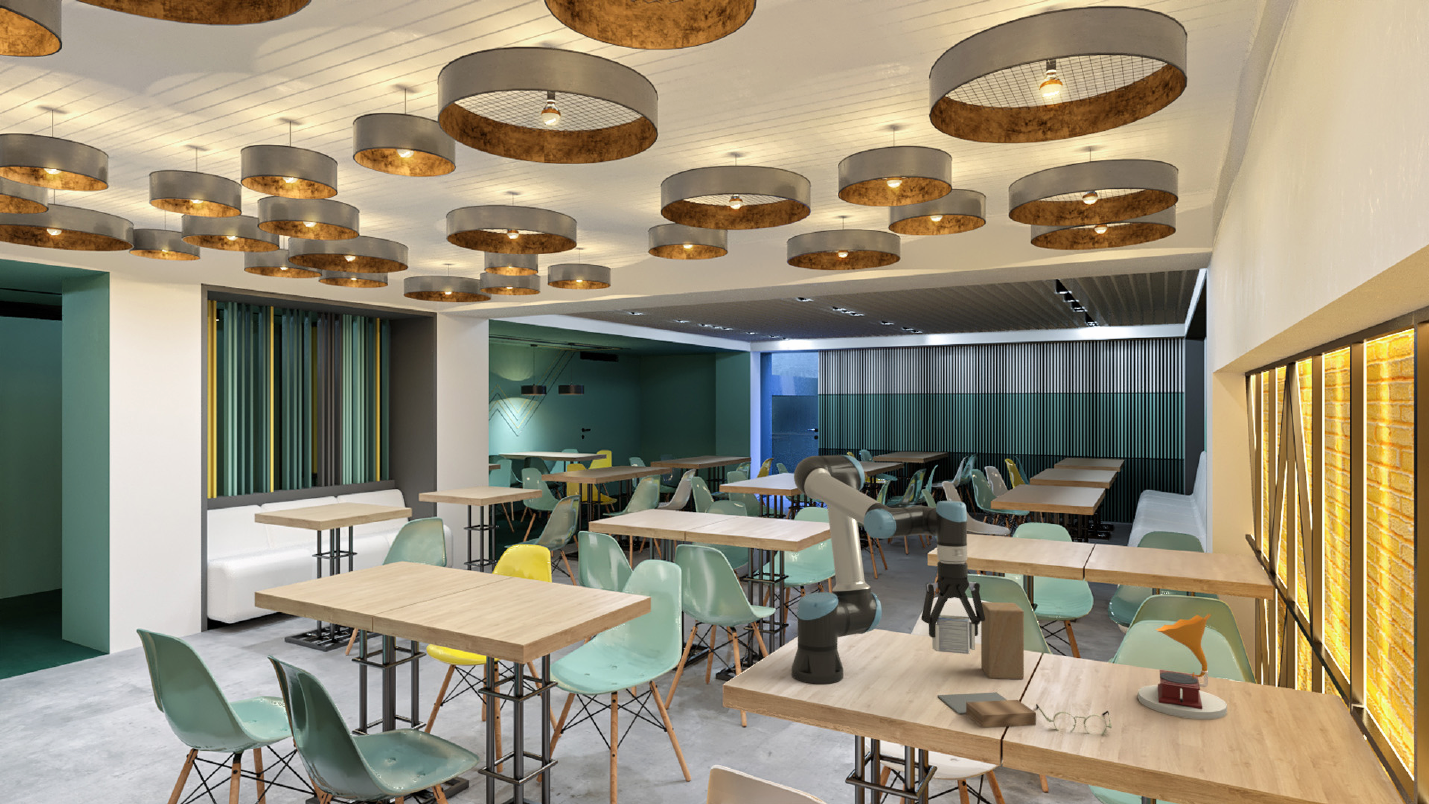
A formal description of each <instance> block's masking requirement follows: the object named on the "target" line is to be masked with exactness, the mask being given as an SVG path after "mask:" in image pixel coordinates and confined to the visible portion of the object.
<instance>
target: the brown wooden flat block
mask: <svg viewBox="0 0 1429 804" xmlns="http://www.w3.org/2000/svg"><path fill="white" fill-rule="evenodd" d="M965 715H967V716H968V717H969V718H970V719H972V720H973V721H974V722H975V723H976V724H977V725H979V726H980V727H981V728H1000V727H1003V728H1004V727H1020V726H1036V725H1037V712H1036V711H1034V710H1033V709H1031V708H1030V707H1028V706H1027V705H1025V703H1023V702H1022V701H1020V700H1019V699H1007V700H1003V701H982V702H966V714H965Z"/></svg>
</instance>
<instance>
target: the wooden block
mask: <svg viewBox="0 0 1429 804" xmlns="http://www.w3.org/2000/svg"><path fill="white" fill-rule="evenodd" d="M981 602H982V607H983V611H984V615H985V621H981V622H980V624H981V625H980V627H981V628H980V639H981V640H980V643H981V644H980V647H981V648H980V655H981V657H980V658H981V659H980V661H981V663H980V666H981V669H982V671H984V673H985V674H986V676H987V677H988V678H989V679H1000V680H1001V679H1002V680H1004V679H1005V680H1008V679H1009V680H1024V679H1025V678H1024V677H1025V676H1024V674H1025V673H1024V672H1025V671H1024V670H1025V668H1024V667H1025V663H1024V661H1025V657H1024V656H1025V653H1024V651H1025V643H1024V641H1025V640H1024V639H1025V634H1024V633H1025V632H1024V631H1025V630H1024V629H1025V624H1024V623H1025V622H1024V621H1025V619H1024V618H1025V617H1024V615H1025V614H1024V612H1025V611H1024V610H1023V609H1022V608H1021V607H1020V606H1018V605H1017V604H1016V603H1015V602H994V601H993V602H990V601H988V602H987V601H981Z"/></svg>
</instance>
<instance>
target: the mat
mask: <svg viewBox="0 0 1429 804" xmlns="http://www.w3.org/2000/svg"><path fill="white" fill-rule="evenodd" d="M937 697H938V698H939V699H940V700H941V699H942V700H941V701H942V702H943V703H944V704H946V705H947V706H948V707H949V708H950V709H952V710H953V711H954V712H955V713H956V714H957V715H967V714H966V702H982V701H1003V700H1008V699H1007V698H1005V697H1004V696H1002V695H1001V694H1000V693H998V692H997V691H996V692H993V691H992V692H977V693H976V692H974V693H972V692H971V693H955V694H952V693H951V694H937Z"/></svg>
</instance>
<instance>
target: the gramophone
mask: <svg viewBox="0 0 1429 804" xmlns="http://www.w3.org/2000/svg"><path fill="white" fill-rule="evenodd" d="M1211 615H1212V613H1211V614H1210V613H1207V615H1206V616H1205V617H1203V616H1200V615H1198V614H1196V615H1195V616H1193V617H1192V618H1190V619H1181V618H1180V619H1178V621H1175V623H1173V624H1164V625H1163V626H1162V627H1159V628H1155V630H1157V633H1162V634H1164V635H1165V636H1167V637H1168V638H1170V639H1172V640H1174V641H1175V642H1177V643H1180V644H1182V645H1183V646H1185V647H1187V649H1189V650H1190V651H1191V652H1192V653H1193V655H1194V656H1195V657H1196V659H1197V660H1198V662H1199V663H1200V665H1201V669H1200V673H1199V674H1195V672H1192V673H1186V672H1180V671H1173V670H1166V669H1159V681H1160V682H1159V683H1157V684H1152V685H1151V684H1150V685H1145V686H1142V687H1140V688H1139V689H1138V690H1137V699H1138V700H1139V703H1140V704H1142V705H1143V706H1144V707H1146V708H1149V709H1151V710H1153V711H1156V712H1159V713H1161V714H1165V715H1168V716H1169V715H1170V716H1173V717H1178V718H1185V719H1193V720H1216V719H1221V718H1223V717H1225V716H1226V715H1227V712H1228V704H1227V702H1225V700H1224V699H1222V698H1220V697H1219V696H1217V695H1214V694H1212V693H1209V692H1206V691H1203V690H1201V688H1206V687H1207V686H1208V684H1209V671H1208V663H1207V662H1208V661H1207V659H1206V655H1205V653H1204V650H1203V647H1202V640H1203V636H1204V633H1205V629H1206V625H1207V621H1208V619H1210V617H1211ZM1201 677H1203V681H1204V683H1201V682H1199V678H1201Z"/></svg>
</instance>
